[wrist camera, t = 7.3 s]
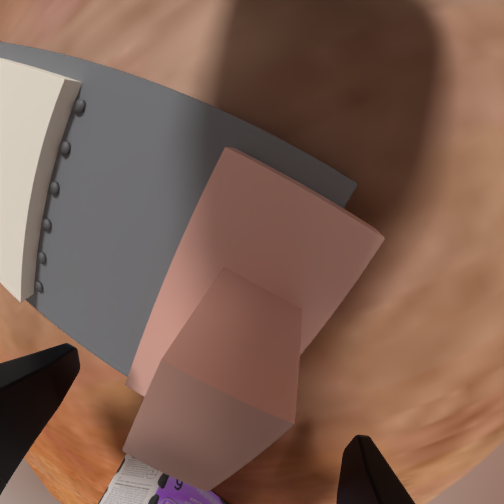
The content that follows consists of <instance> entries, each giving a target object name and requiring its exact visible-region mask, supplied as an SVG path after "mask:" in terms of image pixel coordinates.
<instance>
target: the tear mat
mask: <svg viewBox="0 0 504 504" xmlns="http://www.w3.org/2000/svg"><path fill="white" fill-rule="evenodd" d="M0 58H3V59H7V60H11V61H15V62H18V63H22V64H26V65H29V66H33V67H36V68H39V69H43V70H46V71H49V72H52V73H56V74H59V75H62V76H65V77H68V78H71V79H74V80H77V81H80V82H82V85H81V87H80V90H79V92H78V95H77V97H76V100H78V99H82V100H85V102H86V107H85V110H84V111H83V112H81V113H77V112H75V111H74V109H73V108H72V110H71V113H70V116H69V119H68V122H67V125H66V127H65V130H64V134H63V137H62V140H61V143H62V142H66V141H68V142H69V143H70V144H71V150H70V152H69V154H66V155H62V154H61V153H60V150H58V153H57V157H56V160H55V164H54V168H53V172H52V176H51V180H50V183H51V182H55V181H56V182H58V183H59V186H60V190H59V193H58V194H55V195H52V194H51V193H50V191H49V188H48V193H47V198H46V202H45V207H44V213H43V218H42V221H43V220H44V219H47V218H48V219H50V221H51V223H52V228H51V229H50V230H48V231H45V230H44V229H43V228H42V224H41V230H40V237H39V244H38V252H37V254H38V253H39V252H44V253H45V255H46V258H47V260H46V262H44V263H43V264H41V263H40V262H39V261H38V259H37V260H36V270H35V282H37V281H40V282H41V283H42V285H43V290H42V291H41V292H38V291H37V290H36V288H35V285H34V294H33V295H31V296H30V297H28V298H27V299H26V300H27V301H28V302H29V303H30V304H31V305H32V306H34V307H35V308H36V309H37V310H38V311H39V312H40V313H42V314H43V315H44V316H45V317H46V318H47V319H49V320H50V321H51V322H52V323H54V324H55V325H56V326H57V327H58V328H60V329H61V330H62V331H63V332H65V333H66V334H67V335H69V336H70V337H71V338H72V339H74V340H75V341H76V342H78V343H79V344H80V345H82V346H83V347H84V348H86V349H87V350H88V351H90V352H91V353H93V354H94V355H95V356H97V357H98V358H100V359H101V360H103V361H104V362H106V363H107V364H109V365H110V366H111V367H113V368H114V369H116V370H118V371H119V372H121V373H122V374H124V375H125V376H127V377H128V375H129V372H130V369H131V366H132V364H133V361H134V358H135V355H136V352H137V349H138V347H139V344H140V341H141V338H142V336H143V333H144V330H145V328H146V325H147V322H148V320H149V317H150V315H151V312H152V309H153V307H154V304H155V302H156V299H157V297H158V294H159V292H160V289H161V287H162V284H163V282H164V279H165V277H166V274H167V272H168V270H169V267H170V265H171V262H172V260H173V258H174V255H175V253H176V251H177V248H178V246H179V244H180V242H181V239H182V237H183V235H184V232H185V230H186V228H187V226H188V224H189V221H190V219H191V217H192V215H193V212H194V210H195V208H196V206H197V204H198V202H199V200H200V197H201V195H202V193H203V191H204V189H205V187H206V185H207V183H208V181H209V179H210V176H211V174H212V172H213V170H214V168H215V166H216V164H217V162H218V160H219V158H220V156H221V154H222V152H223V150H224V148H225V147H233V148H236V149H238V150H240V151H242V152H244V153H246V154H248V155H249V156H251V157H253V158H255V159H257V160H259V161H261V162H263V163H265V164H267V165H268V166H270V167H272V168H274V169H276V170H278V171H280V172H281V173H283V174H285V175H287V176H289V177H290V178H292V179H294V180H296V181H298V182H299V183H301V184H303V185H305V186H306V187H308V188H310V189H312V190H313V191H315V192H317V193H318V194H320V195H322V196H324V197H325V198H327V199H329V200H330V201H332V202H334V203H335V204H337V205H339V206H340V207H342V208H344V207H345V206H346V204H347V202H348V201H349V199H350V197H351V195H352V194H353V192H354V190H355V189H356V187H357V185H358V183H356V182H354V181H353V180H351V179H350V178H348V177H346V176H345V175H343V174H341V173H340V172H338V171H337V170H335V169H333V168H332V167H330V166H328V165H326V164H325V163H323V162H321V161H320V160H318V159H316V158H314V157H313V156H311V155H309V154H307V153H305V152H304V151H302V150H300V149H298V148H296V147H295V146H293V145H291V144H289V143H287V142H285V141H283V140H281V139H280V138H278V137H276V136H274V135H272V134H270V133H268V132H266V131H264V130H262V129H260V128H258V127H256V126H254V125H252V124H250V123H248V122H246V121H244V120H242V119H240V118H237V117H235V116H233V115H231V114H229V113H227V112H224V111H222V110H220V109H218V108H216V107H213V106H211V105H209V104H206V103H204V102H202V101H199V100H197V99H195V98H192V97H190V96H187V95H185V94H183V93H180V92H178V91H175V90H173V89H170V88H167V87H165V86H162V85H159V84H157V83H154V82H151V81H149V80H146V79H143V78H140V77H137V76H134V75H132V74H129V73H126V72H123V71H120V70H116V69H113V68H110V67H107V66H104V65H100V64H97V63H93V62H90V61H86V60H83V59H79V58H75V57H72V56H68V55H64V54H60V53H55V52H51V51H47V50H42V49H37V48H32V47H27V46H22V45H16V44H11V43H4V42H0ZM76 100H75V101H76ZM74 103H75V102H74ZM73 106H74V105H73ZM61 143H60V144H61ZM59 147H60V146H59ZM49 185H50V184H49ZM35 282H34V284H35Z"/></svg>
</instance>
